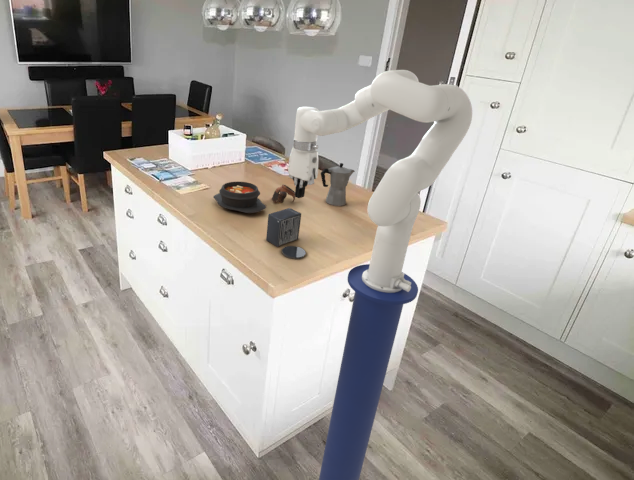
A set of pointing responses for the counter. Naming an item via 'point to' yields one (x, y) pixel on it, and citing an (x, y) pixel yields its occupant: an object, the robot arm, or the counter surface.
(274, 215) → the small box
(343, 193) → the coffeepot
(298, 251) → the slate coaster
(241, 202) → the casserole
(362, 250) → the counter surface
